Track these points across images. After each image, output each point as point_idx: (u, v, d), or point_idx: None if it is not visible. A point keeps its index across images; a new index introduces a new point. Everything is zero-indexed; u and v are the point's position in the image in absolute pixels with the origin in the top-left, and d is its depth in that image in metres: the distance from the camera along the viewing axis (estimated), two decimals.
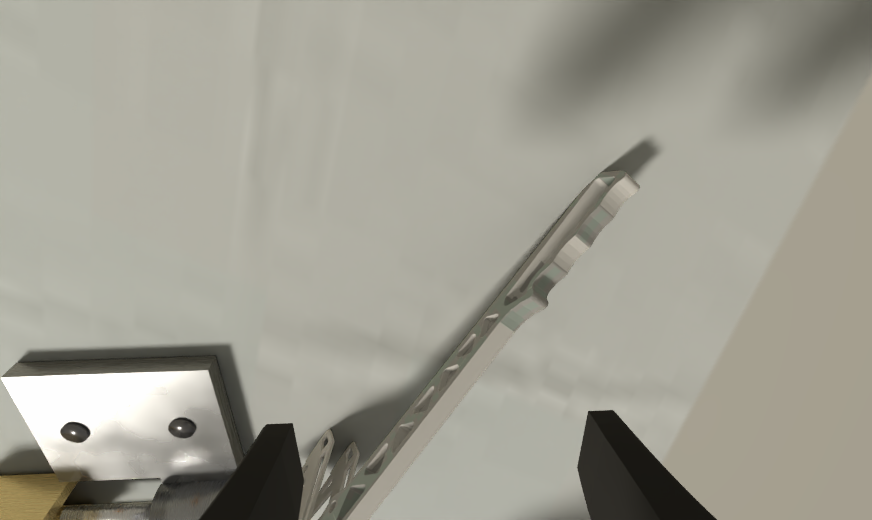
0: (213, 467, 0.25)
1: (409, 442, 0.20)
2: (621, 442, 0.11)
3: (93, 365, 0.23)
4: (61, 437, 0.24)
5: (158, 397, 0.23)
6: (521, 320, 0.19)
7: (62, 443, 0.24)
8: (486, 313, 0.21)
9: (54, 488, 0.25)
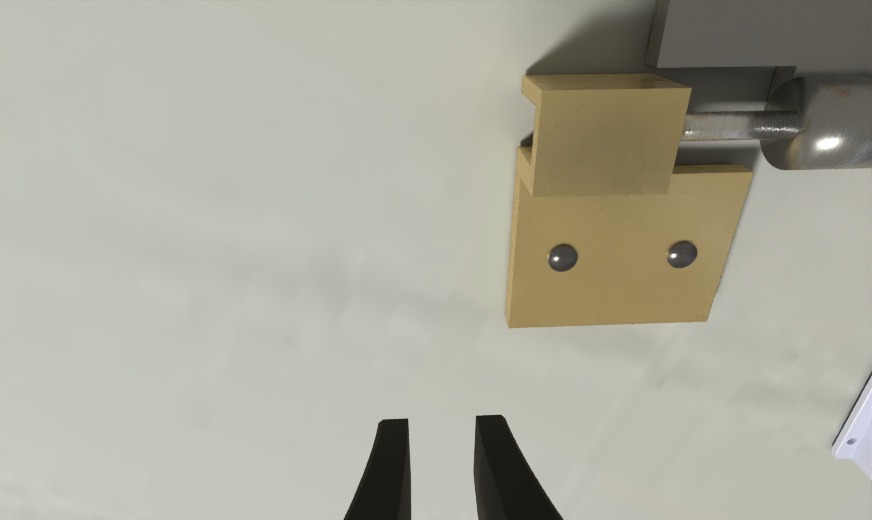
0: None
1: None
2: (497, 447, 0.11)
3: None
4: None
5: None
6: None
7: None
8: None
9: (648, 77, 0.17)
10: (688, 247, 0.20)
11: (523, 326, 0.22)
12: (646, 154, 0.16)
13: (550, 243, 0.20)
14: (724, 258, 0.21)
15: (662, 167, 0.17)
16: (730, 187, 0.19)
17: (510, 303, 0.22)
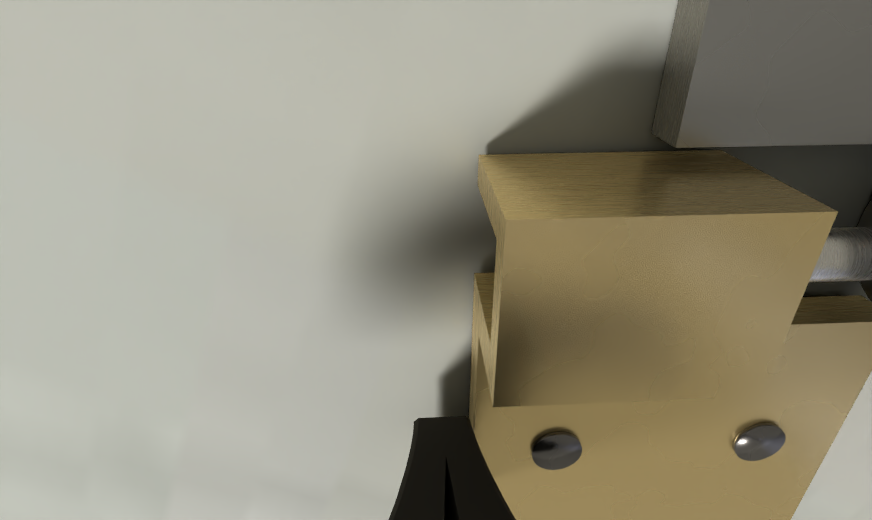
0: None
1: None
2: (457, 449, 0.11)
3: None
4: None
5: None
6: None
7: None
8: None
9: (721, 165, 0.09)
10: (770, 432, 0.12)
11: None
12: (726, 333, 0.08)
13: (535, 430, 0.12)
14: (828, 443, 0.12)
15: (756, 354, 0.08)
16: (853, 344, 0.11)
17: None
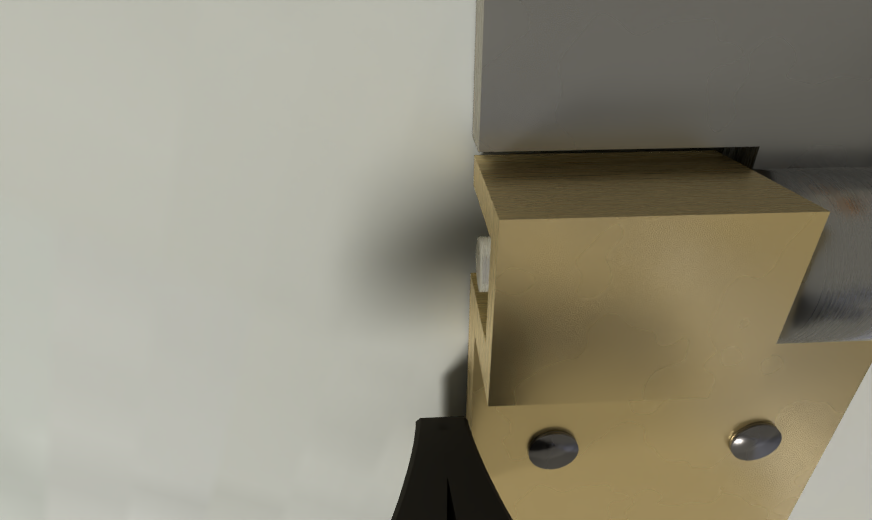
0: None
1: None
2: (455, 449, 0.11)
3: None
4: None
5: None
6: None
7: None
8: None
9: (716, 165, 0.09)
10: (766, 432, 0.12)
11: None
12: (720, 332, 0.08)
13: (531, 429, 0.12)
14: (825, 443, 0.12)
15: (750, 354, 0.08)
16: (848, 344, 0.11)
17: None
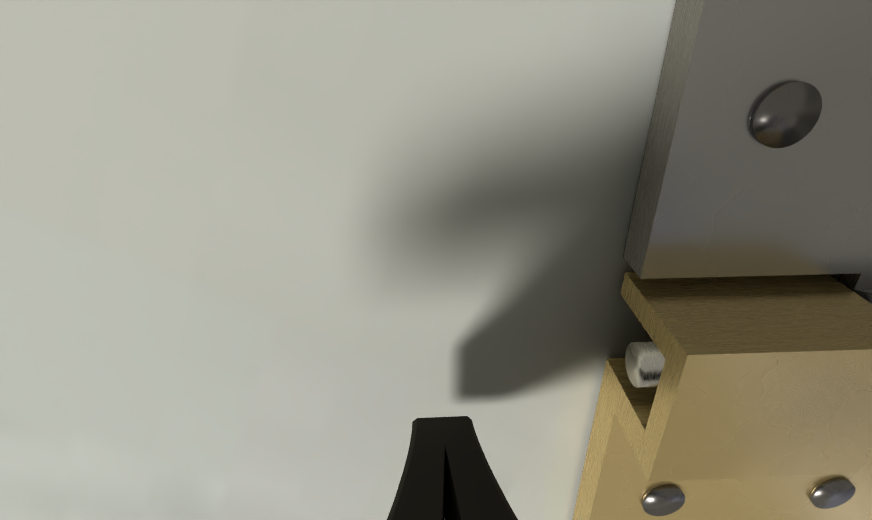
0: None
1: None
2: (459, 449, 0.11)
3: None
4: (742, 130, 0.09)
5: None
6: None
7: (729, 152, 0.10)
8: None
9: (826, 288, 0.11)
10: (843, 486, 0.14)
11: None
12: (838, 429, 0.10)
13: (647, 484, 0.14)
14: None
15: (859, 444, 0.10)
16: None
17: None
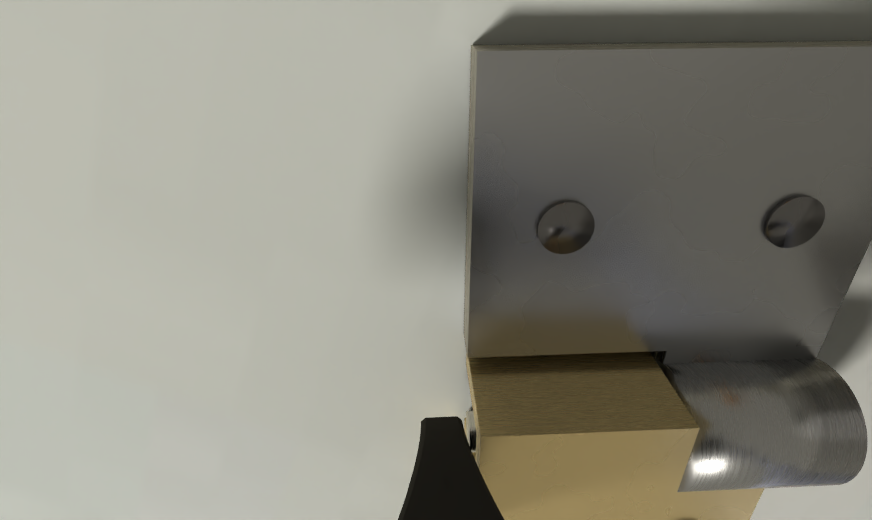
0: (785, 327, 0.12)
1: None
2: (448, 450, 0.11)
3: (663, 45, 0.10)
4: (530, 240, 0.11)
5: (797, 130, 0.10)
6: None
7: (523, 257, 0.11)
8: None
9: (637, 364, 0.12)
10: None
11: None
12: (634, 493, 0.12)
13: None
14: None
15: (657, 505, 0.12)
16: None
17: None
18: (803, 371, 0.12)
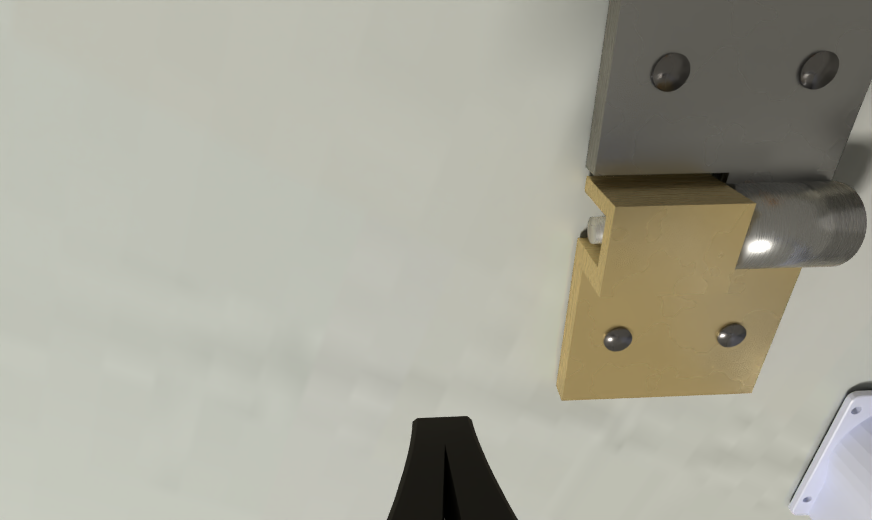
0: (811, 154, 0.18)
1: None
2: (459, 449, 0.11)
3: None
4: (647, 81, 0.16)
5: (822, 3, 0.16)
6: None
7: (640, 95, 0.17)
8: None
9: (708, 181, 0.18)
10: (738, 329, 0.21)
11: (576, 398, 0.23)
12: (709, 259, 0.17)
13: (606, 326, 0.21)
14: (771, 337, 0.22)
15: (724, 270, 0.18)
16: (780, 276, 0.20)
17: (564, 378, 0.22)
18: (823, 184, 0.18)
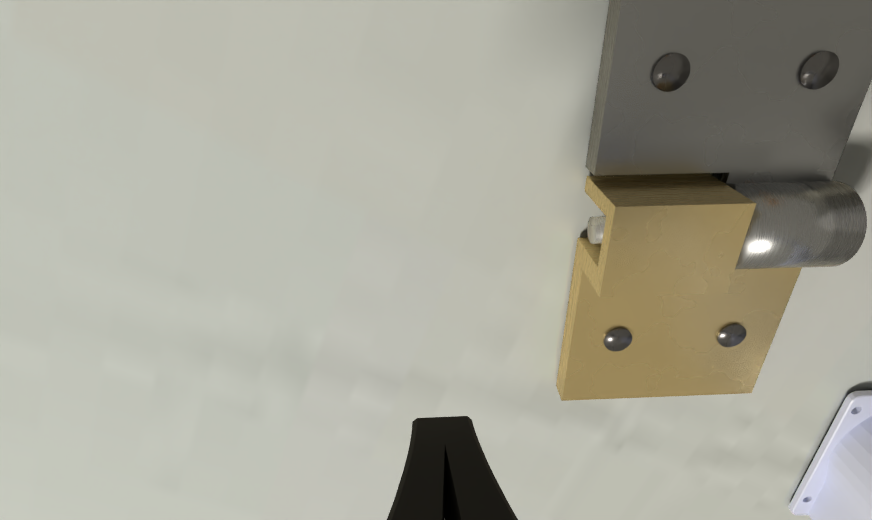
0: (811, 154, 0.18)
1: None
2: (459, 449, 0.11)
3: None
4: (647, 81, 0.16)
5: (822, 3, 0.16)
6: None
7: (640, 95, 0.17)
8: None
9: (708, 181, 0.18)
10: (738, 329, 0.21)
11: (576, 398, 0.23)
12: (709, 259, 0.17)
13: (606, 326, 0.21)
14: (771, 337, 0.22)
15: (724, 270, 0.18)
16: (780, 276, 0.20)
17: (564, 378, 0.22)
18: (823, 184, 0.18)
